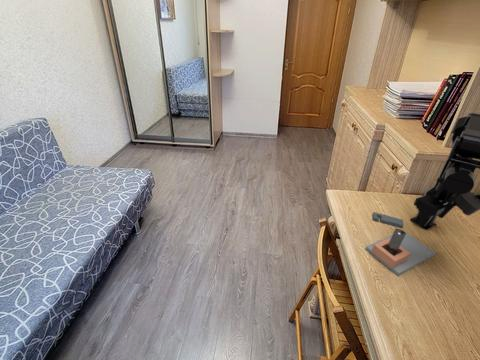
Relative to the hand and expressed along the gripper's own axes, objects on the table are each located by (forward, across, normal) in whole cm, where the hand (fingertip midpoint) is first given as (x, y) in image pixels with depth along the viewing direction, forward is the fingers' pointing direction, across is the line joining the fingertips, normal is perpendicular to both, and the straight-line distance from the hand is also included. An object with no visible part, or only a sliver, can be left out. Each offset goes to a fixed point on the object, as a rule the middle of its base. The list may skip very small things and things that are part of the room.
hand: (431, 221), depth 81 cm
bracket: (+14, +5, +15) cm, 21 cm away
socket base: (+13, -6, +2) cm, 14 cm away
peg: (+12, -12, +2) cm, 17 cm away
